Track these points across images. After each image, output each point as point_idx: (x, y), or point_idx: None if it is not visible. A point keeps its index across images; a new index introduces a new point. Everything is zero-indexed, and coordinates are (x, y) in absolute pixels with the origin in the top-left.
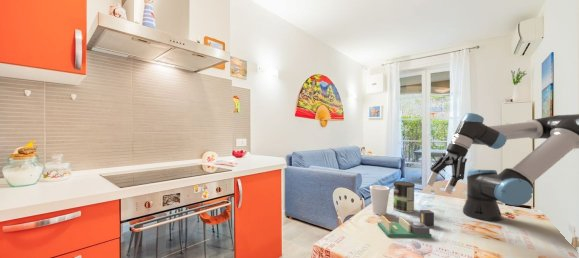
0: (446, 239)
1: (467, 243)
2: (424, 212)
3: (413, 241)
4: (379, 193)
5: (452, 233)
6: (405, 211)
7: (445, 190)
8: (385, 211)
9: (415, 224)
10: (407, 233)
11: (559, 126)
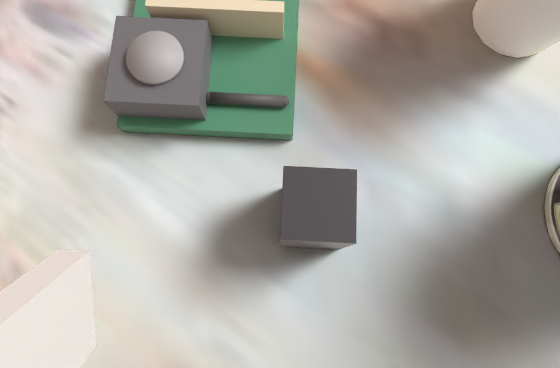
0: (93, 200)
1: None
2: (292, 168)
3: (92, 21)
4: None
5: (167, 295)
6: (550, 196)
7: (51, 260)
8: (491, 30)
9: (149, 37)
10: (143, 9)
11: None
